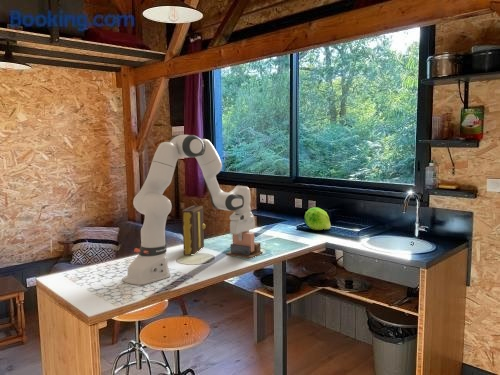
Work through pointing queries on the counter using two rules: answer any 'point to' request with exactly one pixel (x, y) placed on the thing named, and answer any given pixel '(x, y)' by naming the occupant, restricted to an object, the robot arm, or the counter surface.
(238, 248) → the bookend
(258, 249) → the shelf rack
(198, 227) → the book
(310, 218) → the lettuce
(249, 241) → the boxed book
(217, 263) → the counter surface
